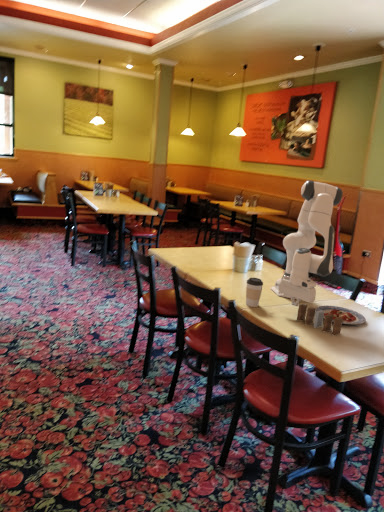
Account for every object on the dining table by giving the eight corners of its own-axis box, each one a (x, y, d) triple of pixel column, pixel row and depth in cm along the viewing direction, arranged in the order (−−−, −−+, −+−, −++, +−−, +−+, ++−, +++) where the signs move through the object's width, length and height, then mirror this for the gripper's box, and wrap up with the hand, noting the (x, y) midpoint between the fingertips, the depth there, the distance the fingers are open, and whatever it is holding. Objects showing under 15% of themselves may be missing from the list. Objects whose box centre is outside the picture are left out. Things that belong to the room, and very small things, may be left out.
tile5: (331, 334, 199) (334, 318, 197) (337, 332, 202) (339, 316, 201) (334, 335, 198) (337, 319, 196) (340, 333, 201) (342, 318, 199)
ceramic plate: (325, 305, 241) (326, 301, 240) (371, 319, 225) (372, 314, 225) (306, 316, 221) (307, 311, 221) (355, 332, 206) (356, 326, 205)
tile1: (296, 320, 214) (299, 305, 212) (302, 318, 217) (304, 303, 215) (299, 321, 212) (301, 306, 211) (304, 319, 216) (307, 304, 214)
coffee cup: (255, 301, 236) (258, 276, 233) (263, 307, 228) (266, 281, 224) (240, 302, 233) (244, 276, 229) (248, 308, 224) (252, 281, 221)
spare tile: (313, 327, 206) (315, 311, 205) (319, 325, 210) (321, 310, 208) (316, 328, 205) (318, 312, 203) (321, 326, 208) (324, 311, 207)
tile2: (304, 323, 210) (307, 308, 208) (310, 321, 213) (313, 306, 211) (307, 324, 209) (310, 309, 207) (313, 322, 212) (315, 307, 210)
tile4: (322, 330, 203) (325, 315, 201) (327, 328, 206) (330, 313, 204) (325, 331, 202) (328, 316, 200) (330, 329, 205) (333, 314, 203)
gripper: (278, 275, 219) (274, 300, 222) (312, 286, 204) (307, 312, 207) (285, 273, 223) (282, 298, 226) (319, 284, 208) (314, 310, 212)
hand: (294, 305), depth 217 cm, fingers closed
